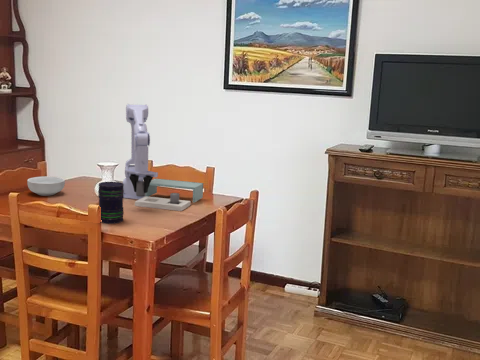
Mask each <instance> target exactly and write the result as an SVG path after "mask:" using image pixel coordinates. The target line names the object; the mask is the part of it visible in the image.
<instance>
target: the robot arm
mask: <svg viewBox="0 0 480 360" xmlns="http://www.w3.org/2000/svg"><path fill="white" fill-rule="evenodd" d="M148 117H149V105H148V104H134V103H133V104H130V103H127V104H126V107H125V118H126V122H127V123H128V124H129V123H130V124H129V125H130V130H131V132H130V133H131V139H130V140H131V142H130V144H131V145H130V146H131V149H130V150H131V153H130V154H131V158H129V159H128V160H126V161H125V166H124V167H125V168H124V176H125V178H124V179H123V180H122V183H123V184H124V186H123V188H124V189H123V190H124V193H123V195H124V196H123V199H134V200H139V199H141V198H143V197H145V196H136V182H137V181H144V193H147V192H148V188H149V185H150V182H151V180H153V179H154V178H158V177H159V172H157V171H156V172H155V171H151V170H149V147H150V145H151V136H150V133H149V131H148V127H147V124H146V123H147V120H148Z"/></svg>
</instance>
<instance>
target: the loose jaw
mask: <svg viewBox="0 0 480 360" xmlns="http://www.w3.org/2000/svg"><path fill="white" fill-rule="evenodd" d="M136 196H146V193H144V180H143V181H137V182H136Z"/></svg>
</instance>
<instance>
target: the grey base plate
mask: <svg viewBox="0 0 480 360" xmlns="http://www.w3.org/2000/svg"><path fill="white" fill-rule="evenodd" d="M190 206H191V200H184V199H183V200H182V199H179V204H170V198H165V197H164V198H163V197H157V196H156V197H155V196H149V197H148V196H145V197H143V198H141V199H136V201H134V207H139V208H141V207H142V208H150V209H160V210H168V211H169V210H170V211H178V212H183V211H184V210H185V209H187V208H189V207H190Z"/></svg>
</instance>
